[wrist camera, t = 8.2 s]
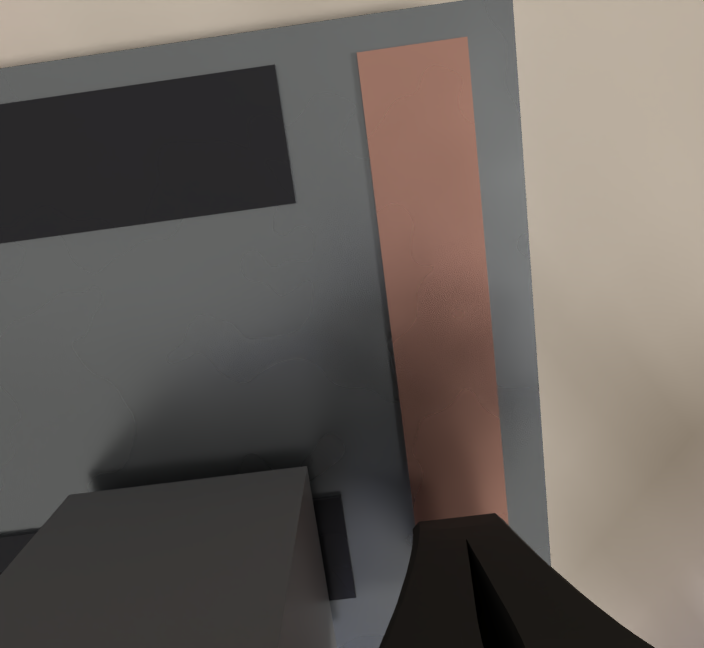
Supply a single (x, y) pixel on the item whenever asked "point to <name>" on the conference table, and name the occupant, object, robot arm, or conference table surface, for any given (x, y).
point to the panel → (277, 282)
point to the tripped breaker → (174, 569)
